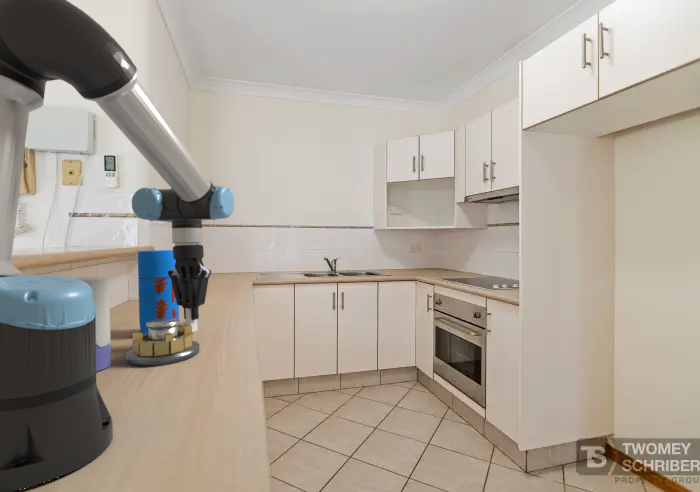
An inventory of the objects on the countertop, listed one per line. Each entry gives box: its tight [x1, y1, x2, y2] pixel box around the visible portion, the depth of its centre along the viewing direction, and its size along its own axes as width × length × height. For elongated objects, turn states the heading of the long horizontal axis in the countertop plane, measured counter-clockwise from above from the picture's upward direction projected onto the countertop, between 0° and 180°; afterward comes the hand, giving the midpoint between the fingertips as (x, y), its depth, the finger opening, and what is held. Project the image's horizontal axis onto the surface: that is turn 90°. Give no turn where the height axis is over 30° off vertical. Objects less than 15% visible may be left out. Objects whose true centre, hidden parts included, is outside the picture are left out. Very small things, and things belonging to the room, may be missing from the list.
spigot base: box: [125, 318, 200, 368], centre depth 88 cm, size 17×16×8 cm
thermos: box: [137, 249, 180, 334], centre depth 110 cm, size 11×11×25 cm
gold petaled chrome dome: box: [132, 320, 194, 357], centre depth 91 cm, size 19×13×4 cm
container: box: [73, 276, 112, 373], centre depth 79 cm, size 10×10×20 cm
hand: (192, 331), depth 97 cm, fingers closed
